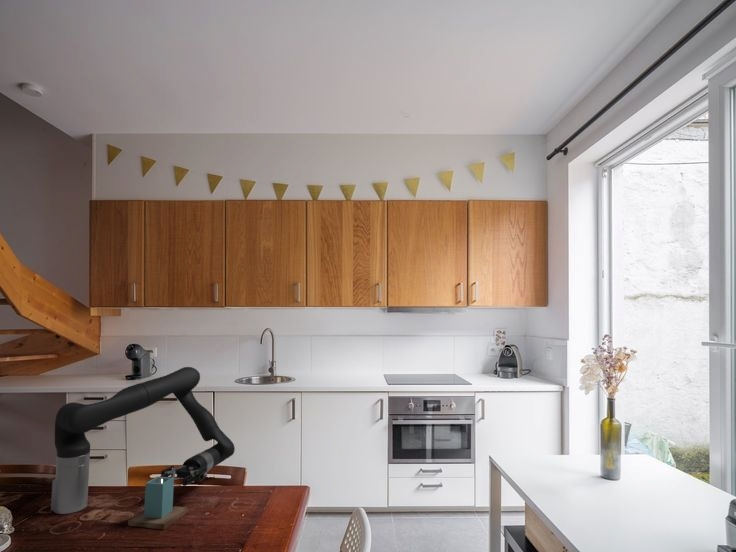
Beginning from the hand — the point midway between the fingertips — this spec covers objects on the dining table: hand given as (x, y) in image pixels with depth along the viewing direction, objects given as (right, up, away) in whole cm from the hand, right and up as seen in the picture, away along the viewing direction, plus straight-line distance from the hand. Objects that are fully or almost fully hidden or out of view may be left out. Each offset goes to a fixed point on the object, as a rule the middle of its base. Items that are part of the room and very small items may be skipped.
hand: (171, 481), depth 154 cm
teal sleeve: (-1, -7, -7) cm, 10 cm away
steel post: (-1, -7, -7) cm, 10 cm away
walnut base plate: (-1, -9, -7) cm, 11 cm away
